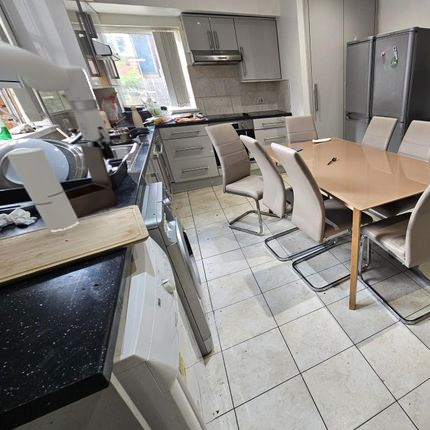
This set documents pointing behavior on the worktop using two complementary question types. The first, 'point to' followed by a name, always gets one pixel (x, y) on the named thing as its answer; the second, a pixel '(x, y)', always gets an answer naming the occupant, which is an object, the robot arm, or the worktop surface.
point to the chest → (90, 199)
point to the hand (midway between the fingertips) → (105, 157)
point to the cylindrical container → (44, 189)
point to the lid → (96, 165)
